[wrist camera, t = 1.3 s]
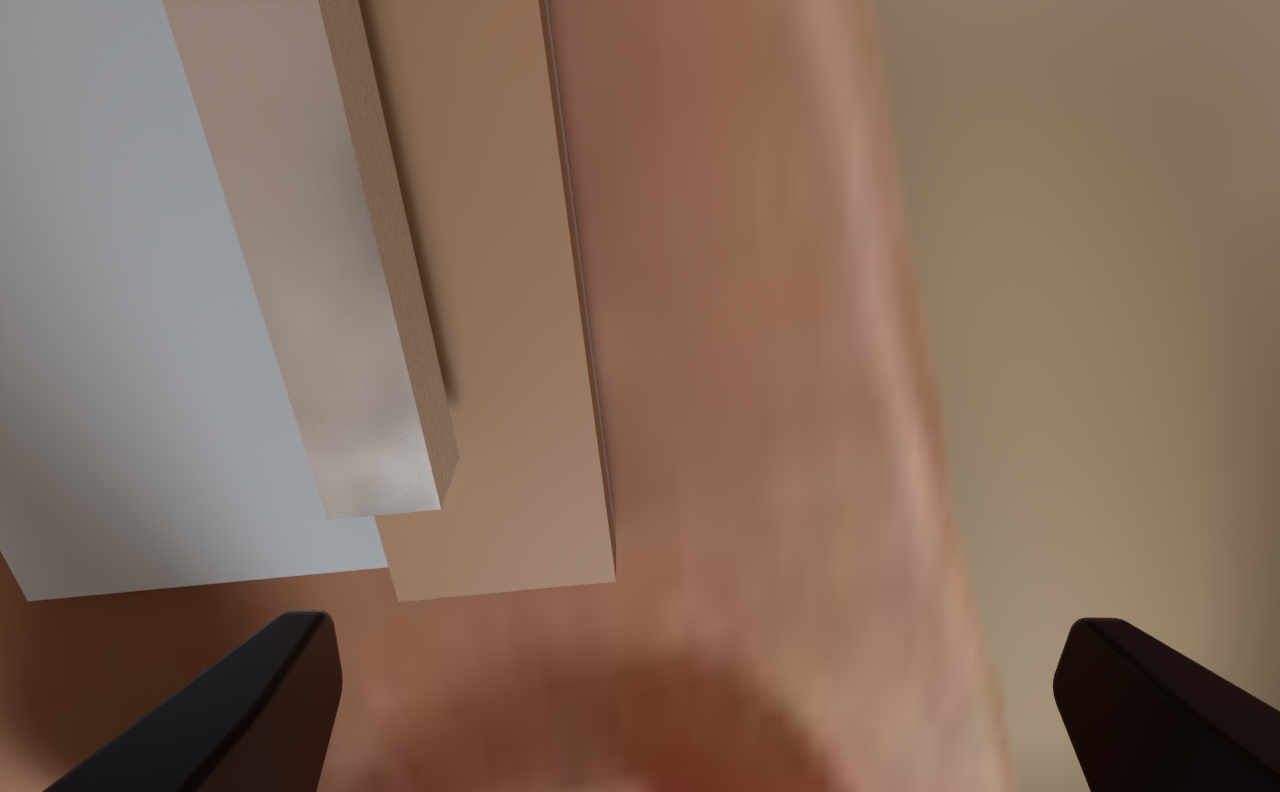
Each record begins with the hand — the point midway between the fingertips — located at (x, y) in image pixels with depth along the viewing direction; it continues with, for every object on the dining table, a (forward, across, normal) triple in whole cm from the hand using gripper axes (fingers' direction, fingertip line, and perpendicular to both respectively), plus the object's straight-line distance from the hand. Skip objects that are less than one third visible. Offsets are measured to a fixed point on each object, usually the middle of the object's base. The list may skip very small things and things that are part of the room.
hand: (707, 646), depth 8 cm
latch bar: (+9, +6, -3) cm, 11 cm away
